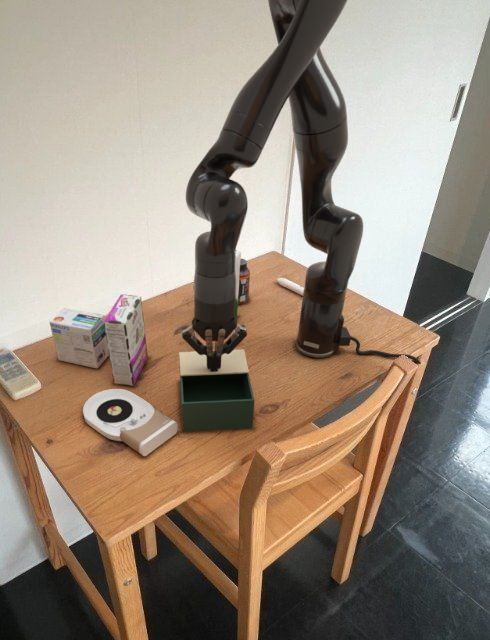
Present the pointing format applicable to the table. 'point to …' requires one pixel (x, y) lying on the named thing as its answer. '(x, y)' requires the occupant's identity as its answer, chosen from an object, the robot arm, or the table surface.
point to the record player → (128, 420)
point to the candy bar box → (126, 339)
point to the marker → (291, 285)
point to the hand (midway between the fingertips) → (213, 369)
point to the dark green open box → (216, 402)
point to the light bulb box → (80, 337)
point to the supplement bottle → (243, 282)
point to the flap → (197, 364)
